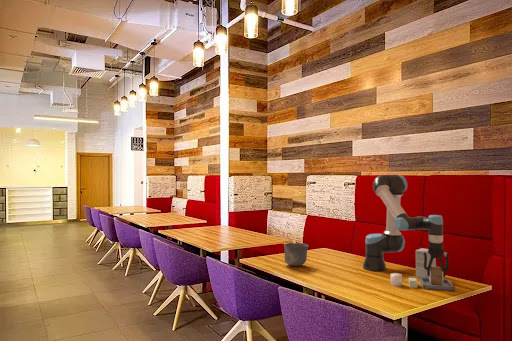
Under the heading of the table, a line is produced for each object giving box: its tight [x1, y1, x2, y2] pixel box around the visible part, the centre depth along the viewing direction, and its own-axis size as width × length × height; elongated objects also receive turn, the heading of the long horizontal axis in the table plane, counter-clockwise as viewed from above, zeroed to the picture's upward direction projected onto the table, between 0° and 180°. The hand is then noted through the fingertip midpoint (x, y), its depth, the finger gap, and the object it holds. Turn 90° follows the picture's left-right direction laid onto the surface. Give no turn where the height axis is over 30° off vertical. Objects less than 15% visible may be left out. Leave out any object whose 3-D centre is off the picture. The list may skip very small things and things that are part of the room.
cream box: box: [408, 277, 418, 288], centre depth 216 cm, size 6×4×4 cm, turn 163°
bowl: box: [283, 242, 309, 267], centre depth 265 cm, size 18×18×15 cm
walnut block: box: [430, 265, 442, 286], centre depth 216 cm, size 5×5×10 cm
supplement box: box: [415, 247, 437, 278], centre depth 236 cm, size 10×9×17 cm
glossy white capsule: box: [390, 272, 403, 287], centre depth 219 cm, size 6×6×6 cm
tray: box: [419, 277, 456, 292], centre depth 216 cm, size 16×16×2 cm
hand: (436, 281), depth 216 cm, fingers open, 6 cm apart
